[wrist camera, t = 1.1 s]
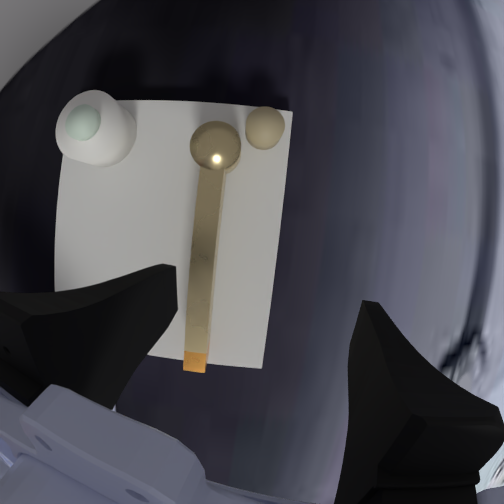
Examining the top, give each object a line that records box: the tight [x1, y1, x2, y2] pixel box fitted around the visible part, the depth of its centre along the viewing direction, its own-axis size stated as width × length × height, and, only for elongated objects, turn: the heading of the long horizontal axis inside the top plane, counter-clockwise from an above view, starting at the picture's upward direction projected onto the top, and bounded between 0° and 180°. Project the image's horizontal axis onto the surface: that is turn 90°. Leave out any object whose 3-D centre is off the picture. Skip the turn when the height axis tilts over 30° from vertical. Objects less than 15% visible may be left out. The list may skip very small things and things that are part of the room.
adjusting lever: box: [183, 121, 241, 373], centre depth 22 cm, size 17×3×3 cm, turn 174°
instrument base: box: [55, 90, 293, 368], centre depth 22 cm, size 20×18×6 cm
